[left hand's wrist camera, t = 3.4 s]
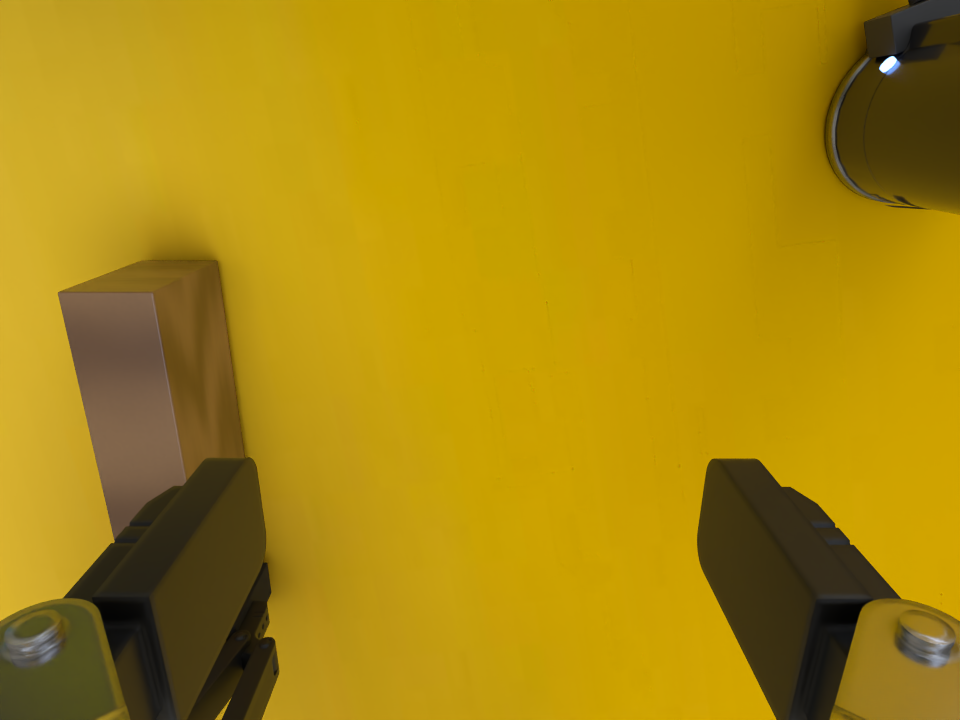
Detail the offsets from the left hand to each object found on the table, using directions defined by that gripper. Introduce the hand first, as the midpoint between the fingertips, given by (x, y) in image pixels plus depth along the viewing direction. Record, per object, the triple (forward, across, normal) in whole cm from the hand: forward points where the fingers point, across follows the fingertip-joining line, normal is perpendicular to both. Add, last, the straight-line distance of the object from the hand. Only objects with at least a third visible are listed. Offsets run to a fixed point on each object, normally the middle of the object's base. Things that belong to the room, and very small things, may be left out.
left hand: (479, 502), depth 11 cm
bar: (+30, +19, +16) cm, 39 cm away
